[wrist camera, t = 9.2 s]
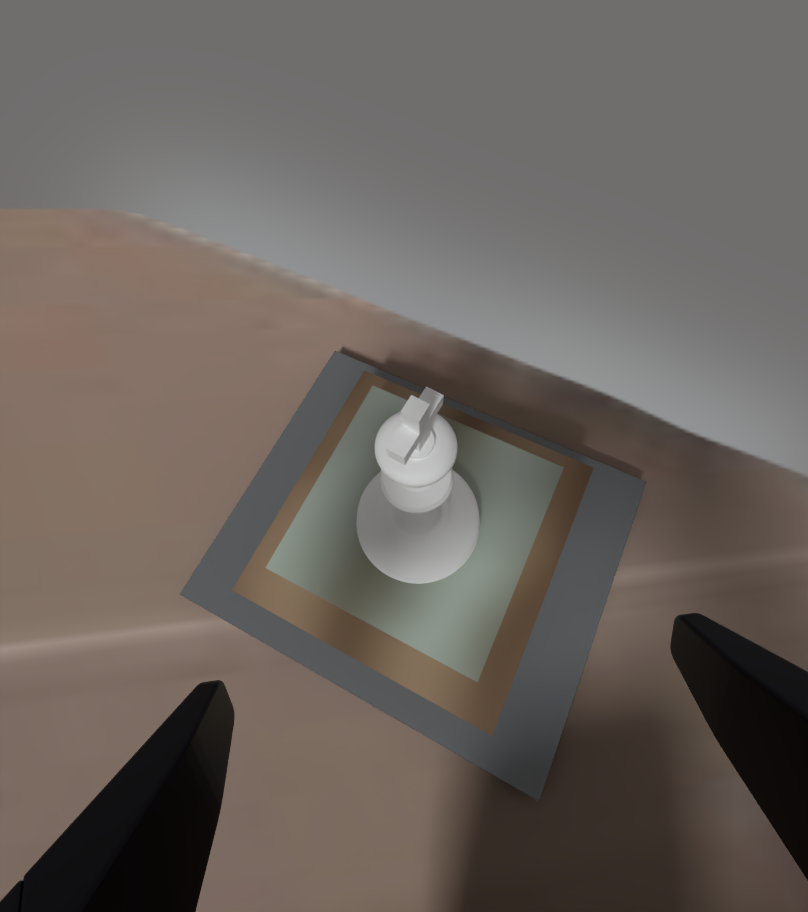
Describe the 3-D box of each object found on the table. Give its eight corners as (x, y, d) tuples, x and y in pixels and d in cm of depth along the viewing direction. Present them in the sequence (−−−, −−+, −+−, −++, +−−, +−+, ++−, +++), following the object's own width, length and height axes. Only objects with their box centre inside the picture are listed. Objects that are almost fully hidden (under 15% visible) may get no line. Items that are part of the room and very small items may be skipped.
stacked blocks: (578, 482, 23) (610, 451, 19) (484, 725, 20) (500, 748, 16) (368, 391, 26) (359, 347, 22) (249, 594, 22) (212, 585, 18)
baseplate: (639, 486, 24) (646, 481, 23) (534, 795, 19) (538, 801, 19) (337, 358, 27) (335, 350, 27) (187, 595, 23) (179, 594, 22)
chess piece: (333, 542, 18) (243, 450, 9) (396, 443, 20) (375, 274, 10) (442, 608, 17) (467, 581, 8) (500, 498, 19) (580, 366, 9)
